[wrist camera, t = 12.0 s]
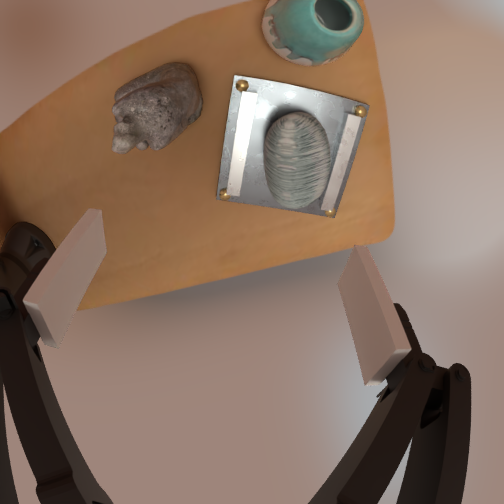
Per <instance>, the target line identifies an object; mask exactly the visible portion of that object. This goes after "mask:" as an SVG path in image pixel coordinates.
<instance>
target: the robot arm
mask: <svg viewBox="0 0 504 504" xmlns="http://www.w3.org/2000/svg"><path fill="white" fill-rule="evenodd" d="M106 253H107V250H106V243H105V235H104V227H103V219H102V210H99V209H90V208H89V209H88V210H87V211H86V212H85V214H84V215H83V216H82V217H81V219H80V220H79V221H78V222H77V224H76V225H75V226H74V227H73V229H72V230H71V231H70V232H69V234H68V235H67V236H66V238H65V239H64V240H63V242H62V243H61V244H60V246H59V247H58V248H57V250H55V248H54V246H53V244H52V242H51V241H50V239H49V238H48V237H47V236H46V235H45V234H44V233H43V232H42V231H41V230H40V229H39V228H37V227H36V226H34V225H32V224H29V223H25V222H20V223H17V224H15V225H14V226H13V227H12V228H11V229H10V230H9V231H8V233H7V234H6V237H5V241H4V243H3V245H2V247H1V250H0V504H19V502H18V498H17V494H16V490H15V485H14V480H13V475H12V470H11V465H10V459H9V452H8V445H7V437H6V427H5V415H4V394H3V383H4V387H5V391H6V395H7V399H8V403H9V406H10V410H11V413H12V417H13V420H14V423H15V426H16V429H17V432H18V435H19V438H20V441H21V444H22V447H23V449H24V452H25V455H26V457H27V460H28V462H29V464H30V467H31V469H32V471H33V474H34V476H35V478H36V481H37V487H36V494H37V496H38V499H39V501H40V503H41V504H113V502H112V501H111V499H110V498H109V497H108V495H107V494H106V492H105V491H104V490H103V489H102V488H101V487H100V486H99V484H98V483H97V481H96V479H95V478H94V476H93V474H92V473H91V471H90V469H89V467H88V465H87V464H86V462H85V460H84V458H83V456H82V454H81V452H80V450H79V448H78V446H77V444H76V442H75V440H74V438H73V436H72V434H71V432H70V429H69V427H68V425H67V423H66V420H65V418H64V416H63V414H62V411H61V409H60V406H59V404H58V401H57V399H56V396H55V393H54V391H53V388H52V385H51V382H50V380H49V377H48V374H47V371H46V368H45V365H44V362H43V358H42V355H41V352H40V348H39V346H38V344H37V342H38V340H39V338H40V337H41V338H42V341H43V342H44V344H45V345H48V346H51V347H55V348H59V346H60V344H61V342H62V340H63V338H64V335H65V333H66V331H67V329H68V327H69V325H70V322H71V320H72V318H73V316H74V314H75V312H76V310H77V308H78V306H79V304H80V302H81V300H82V298H83V296H84V294H85V292H86V290H87V288H88V286H89V284H90V282H91V281H92V279H93V277H94V275H95V273H96V271H97V269H98V268H99V266H100V264H101V262H102V260H103V259H104V257H105V255H106ZM338 287H339V290H340V294H341V297H342V300H343V304H344V307H345V311H346V315H347V318H348V322H349V325H350V329H351V333H352V336H353V340H354V344H355V348H356V352H357V356H358V359H359V363H360V368H361V372H362V376H363V380H364V384H365V386H371V385H380V384H381V383H382V382H383V381H384V380H385V379H386V380H387V383H388V385H387V386H386V387H385V388H384V389H383V390H382V391H381V392H380V393H379V394H378V395H377V397H379V396H380V395H381V396H380V398H379V399H378V401H377V403H376V405H375V407H374V408H373V410H372V412H371V414H370V415H369V417H368V419H367V420H366V422H365V424H364V425H363V427H362V429H361V430H360V432H359V433H358V435H357V437H356V438H355V440H354V441H353V443H352V444H351V446H350V447H349V449H348V450H347V452H346V453H345V455H344V457H343V458H342V459H341V461H340V462H339V464H338V465H337V467H336V468H335V469H334V471H333V472H332V473H331V475H330V476H329V478H328V479H327V480H326V482H325V483H324V484H323V485H322V487H321V488H320V489H319V491H318V492H317V493H316V494H315V496H314V497H313V498H312V499H311V501H310V502H309V503H308V504H377V503H378V502H379V500H380V498H381V497H382V495H383V493H384V492H385V490H386V488H387V486H388V485H389V483H390V481H391V479H392V477H393V475H394V474H395V471H396V470H397V468H398V466H399V464H400V462H401V460H402V458H403V456H404V454H405V452H406V450H407V448H408V445H409V443H410V441H411V439H412V443H411V448H410V452H409V457H408V461H407V466H406V470H405V474H404V478H403V482H402V485H401V489H400V493H399V496H398V499H397V503H396V504H461V502H462V497H463V491H464V485H465V479H466V472H467V464H468V454H469V444H470V428H471V377H470V373H469V371H468V370H467V368H466V367H465V366H463V365H462V364H459V363H455V364H453V365H452V366H451V367H450V368H449V369H447V368H443V367H439V366H436V363H435V361H434V360H433V358H432V357H430V356H429V355H427V354H425V353H422V350H421V347H420V345H419V342H418V340H417V337H416V335H415V333H414V330H413V329H412V325H411V323H410V322H409V318H408V316H407V314H406V312H405V310H404V309H403V308H402V307H401V305H400V304H398V303H393V302H392V300H391V297H390V295H389V293H388V290H387V288H386V286H385V284H384V281H383V279H382V277H381V275H380V273H379V271H378V268H377V266H376V264H375V262H374V260H373V258H372V256H371V254H370V252H369V250H368V248H367V247H364V246H358V245H354V248H353V250H352V252H351V255H350V257H349V259H348V261H347V264H346V266H345V268H344V271H343V273H342V275H341V277H340V279H339V282H338ZM412 437H413V438H412Z"/></svg>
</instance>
